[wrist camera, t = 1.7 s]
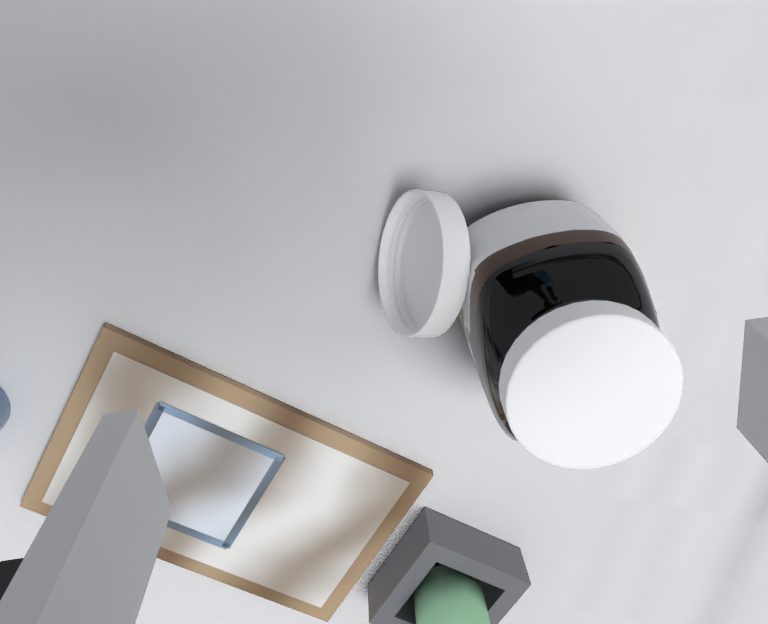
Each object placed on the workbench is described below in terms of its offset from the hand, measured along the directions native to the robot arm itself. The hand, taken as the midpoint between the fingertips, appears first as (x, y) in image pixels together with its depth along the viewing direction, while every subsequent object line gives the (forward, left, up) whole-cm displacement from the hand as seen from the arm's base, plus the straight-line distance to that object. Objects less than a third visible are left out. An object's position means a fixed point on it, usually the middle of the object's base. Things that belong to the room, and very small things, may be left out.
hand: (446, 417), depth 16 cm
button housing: (+15, -20, -21) cm, 33 cm away
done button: (+15, -20, -19) cm, 32 cm away
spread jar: (+7, -2, -22) cm, 23 cm away
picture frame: (+1, -20, -21) cm, 29 cm away
